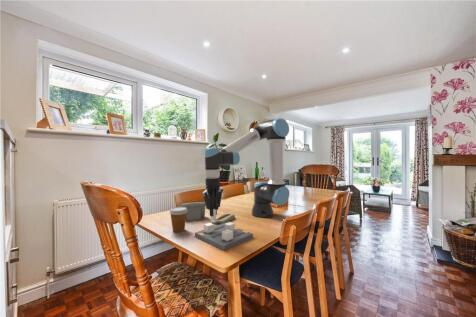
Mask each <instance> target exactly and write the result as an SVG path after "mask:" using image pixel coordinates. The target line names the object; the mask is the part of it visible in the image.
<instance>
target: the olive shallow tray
mask: <svg viewBox="0 0 476 317" xmlns="http://www.w3.org/2000/svg"><path fill="white" fill-rule="evenodd" d="M234 219H236V214H233V213H225V214H222V215H221V216H219V217H216V222H215V223H214V222H211V223H212V224H214V225H216V226H217V225H220V224H223V223H224V224H226V223H229V222H231V221H233V220H234Z"/></svg>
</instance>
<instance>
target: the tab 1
mask: <svg viewBox="0 0 476 317" xmlns="http://www.w3.org/2000/svg"><path fill="white" fill-rule="evenodd" d="M214 226H215V224H212V222H208V223H207V222H206V223H205V224H203V230H204V232H207V233H210V232H212V231H214Z"/></svg>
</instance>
